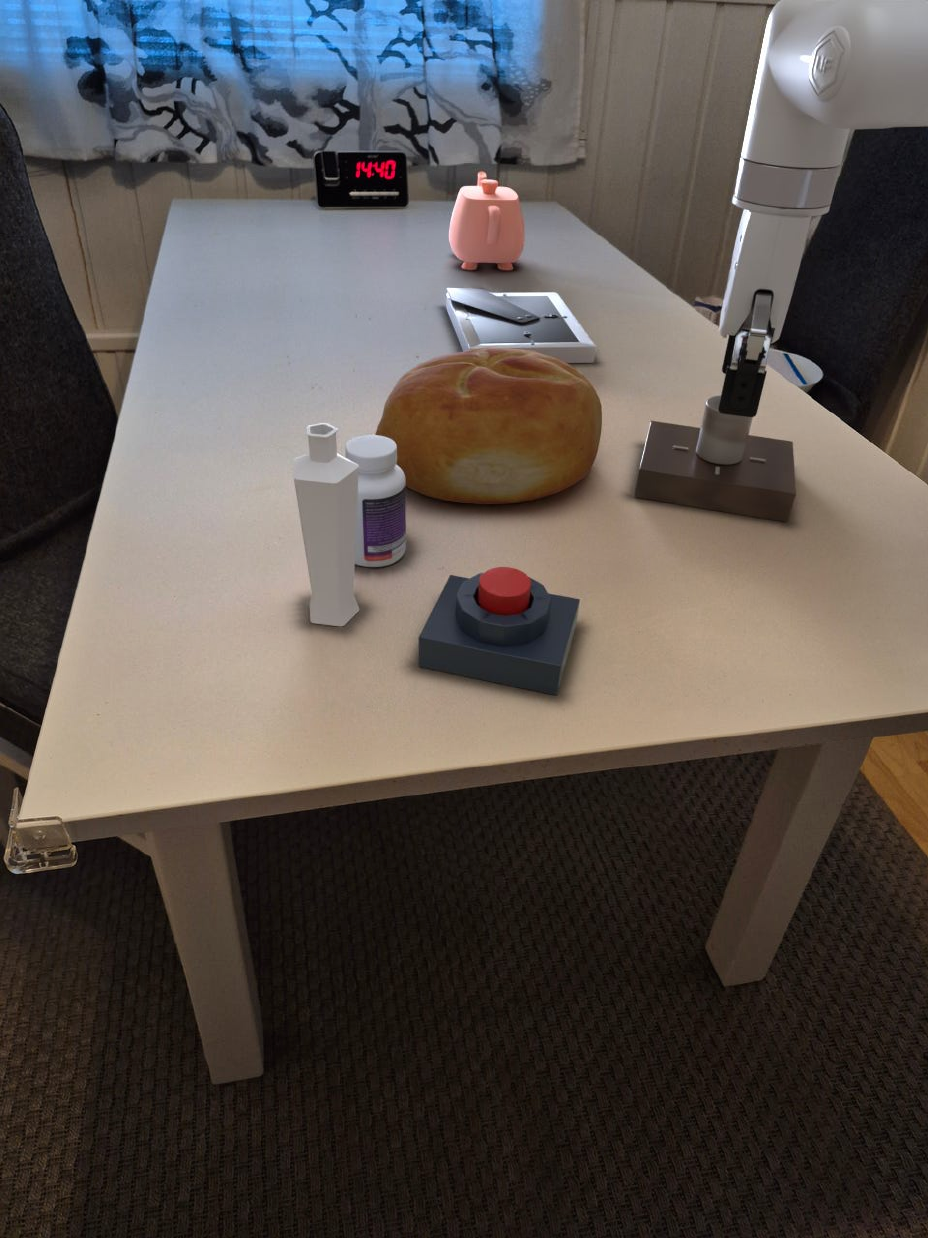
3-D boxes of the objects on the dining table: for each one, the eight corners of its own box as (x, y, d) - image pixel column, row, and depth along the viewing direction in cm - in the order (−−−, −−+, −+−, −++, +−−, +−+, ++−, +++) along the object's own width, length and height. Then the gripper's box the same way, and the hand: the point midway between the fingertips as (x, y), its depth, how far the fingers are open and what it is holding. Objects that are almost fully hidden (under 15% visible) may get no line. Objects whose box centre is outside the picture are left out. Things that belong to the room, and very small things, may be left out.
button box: (575, 627, 67) (583, 578, 64) (556, 695, 60) (564, 645, 58) (449, 602, 68) (450, 554, 66) (418, 666, 62) (418, 616, 60)
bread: (339, 428, 92) (334, 334, 86) (538, 399, 100) (547, 311, 94) (417, 539, 75) (418, 432, 69) (648, 494, 83) (667, 394, 77)
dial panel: (784, 468, 89) (793, 439, 87) (787, 522, 80) (796, 492, 78) (646, 446, 91) (651, 418, 89) (634, 497, 83) (639, 467, 81)
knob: (697, 440, 86) (708, 389, 83) (743, 447, 85) (756, 396, 82) (693, 460, 83) (705, 407, 79) (741, 468, 82) (755, 415, 79)
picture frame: (446, 308, 123) (468, 365, 107) (446, 287, 121) (469, 342, 105) (555, 307, 125) (593, 362, 109) (557, 286, 124) (596, 340, 107)
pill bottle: (415, 541, 75) (416, 437, 69) (391, 575, 71) (389, 467, 65) (357, 528, 76) (353, 425, 71) (330, 560, 72) (323, 453, 66)
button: (533, 591, 63) (535, 571, 62) (523, 621, 60) (525, 600, 59) (484, 582, 64) (486, 562, 63) (472, 611, 61) (473, 590, 60)
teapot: (530, 280, 135) (538, 195, 128) (454, 279, 134) (457, 193, 126) (511, 244, 151) (516, 166, 143) (442, 243, 149) (444, 165, 142)
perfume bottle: (314, 637, 64) (299, 451, 55) (295, 604, 67) (277, 423, 58) (372, 621, 66) (367, 438, 57) (351, 590, 69) (342, 412, 60)
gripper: (737, 164, 77) (700, 356, 87) (733, 203, 63) (689, 425, 74) (827, 171, 76) (778, 365, 86) (842, 213, 62) (782, 437, 72)
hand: (737, 393), depth 80 cm, fingers open, 9 cm apart
